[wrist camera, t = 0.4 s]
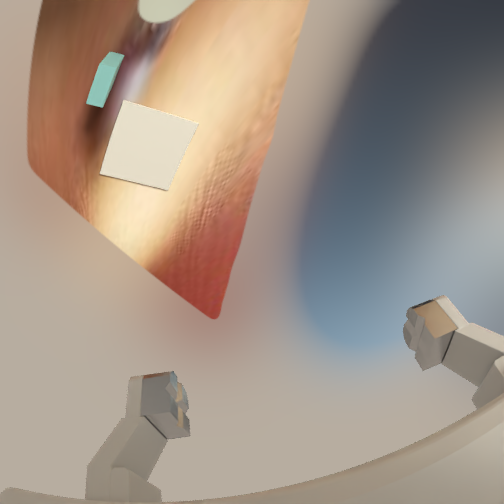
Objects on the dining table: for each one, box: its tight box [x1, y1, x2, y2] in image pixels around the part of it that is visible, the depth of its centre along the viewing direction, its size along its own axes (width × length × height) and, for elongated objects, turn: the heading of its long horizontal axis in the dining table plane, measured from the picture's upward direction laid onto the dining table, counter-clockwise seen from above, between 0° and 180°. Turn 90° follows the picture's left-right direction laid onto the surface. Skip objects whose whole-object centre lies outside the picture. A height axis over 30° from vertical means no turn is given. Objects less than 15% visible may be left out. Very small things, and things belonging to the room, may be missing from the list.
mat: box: [100, 100, 199, 190], centre depth 54 cm, size 15×14×1 cm
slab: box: [86, 52, 124, 108], centre depth 38 cm, size 6×3×10 cm, turn 151°
